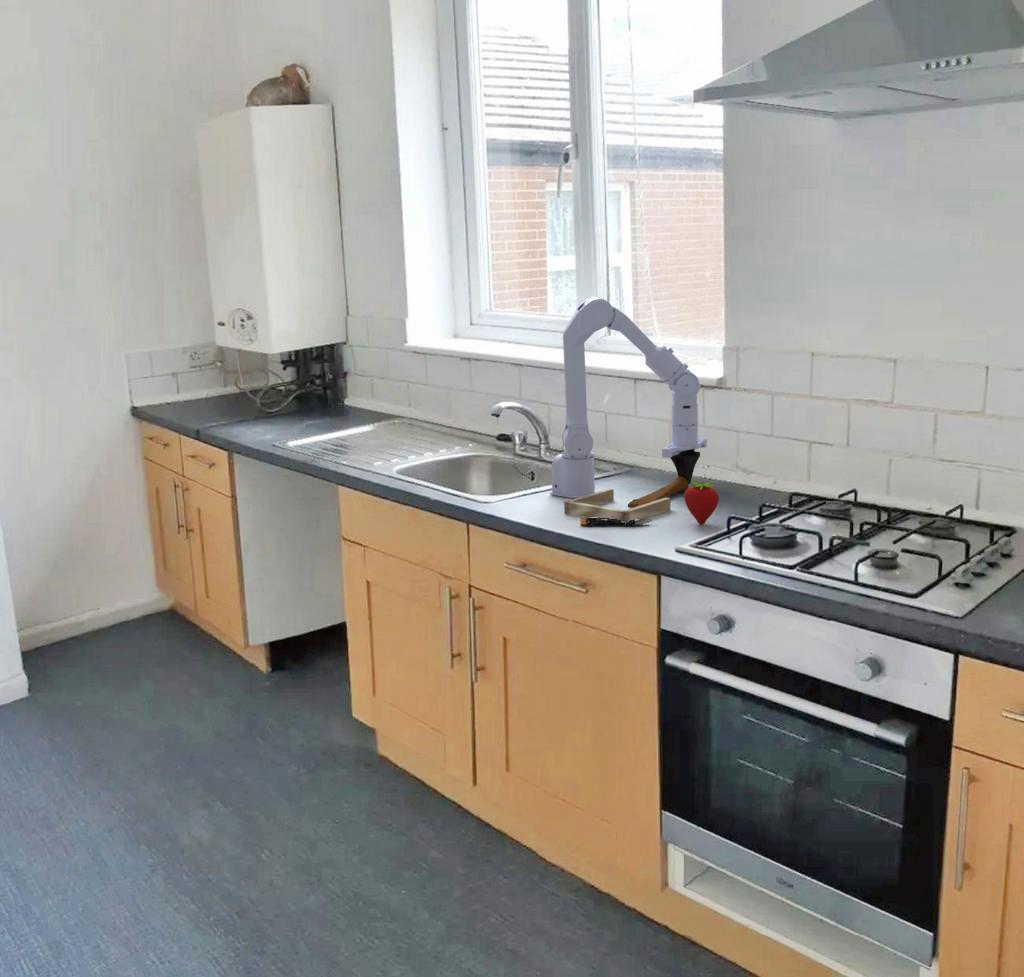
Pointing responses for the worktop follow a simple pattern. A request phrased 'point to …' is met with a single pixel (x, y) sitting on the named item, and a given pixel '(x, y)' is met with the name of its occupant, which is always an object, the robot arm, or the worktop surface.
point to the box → (589, 508)
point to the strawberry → (701, 500)
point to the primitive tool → (662, 492)
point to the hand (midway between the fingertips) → (685, 483)
